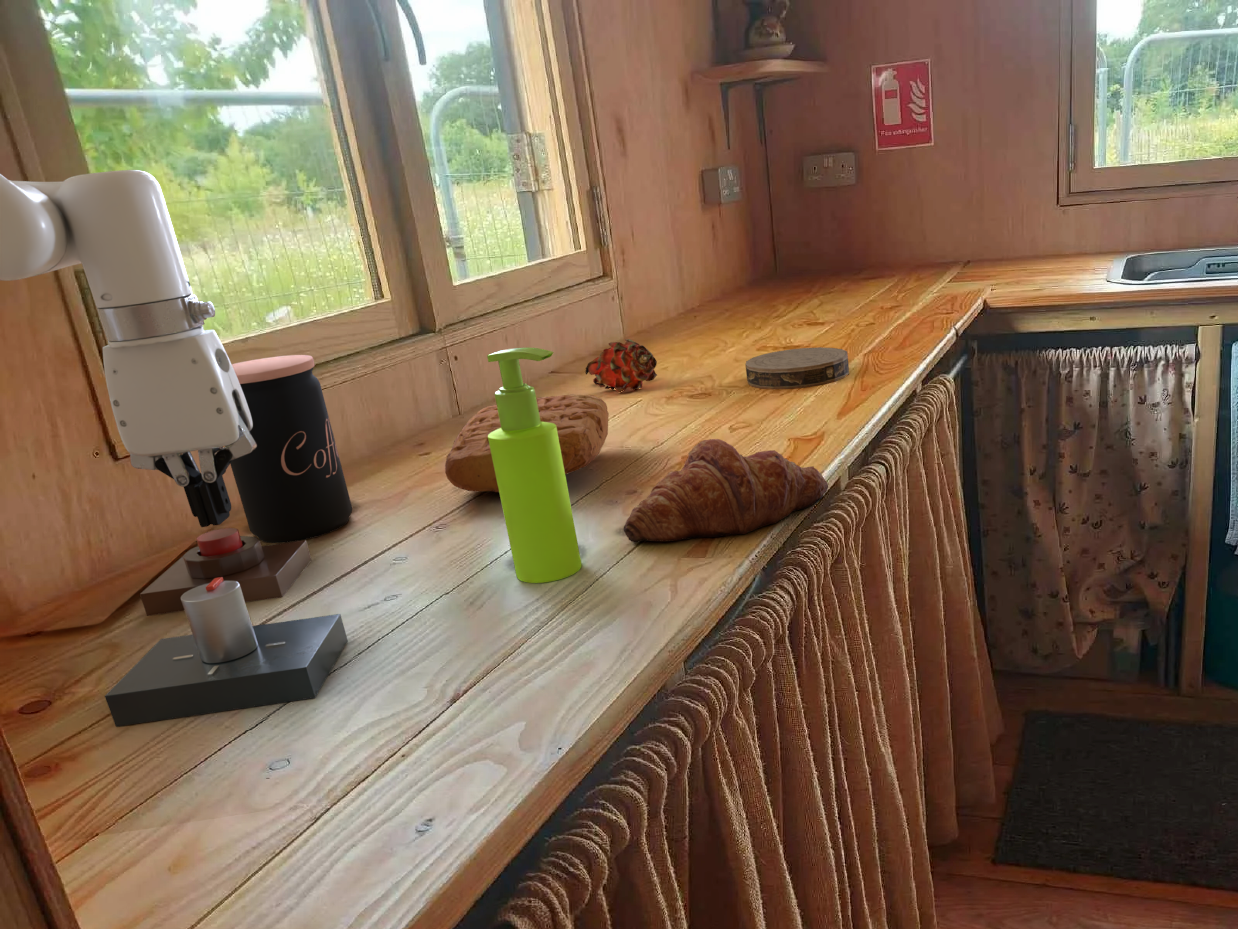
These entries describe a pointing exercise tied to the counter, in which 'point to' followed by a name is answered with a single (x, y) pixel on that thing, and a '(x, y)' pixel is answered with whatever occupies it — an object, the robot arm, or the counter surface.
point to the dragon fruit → (623, 366)
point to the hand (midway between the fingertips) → (215, 521)
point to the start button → (219, 541)
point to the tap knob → (219, 621)
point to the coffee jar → (289, 453)
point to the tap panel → (229, 673)
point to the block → (230, 573)
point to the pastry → (723, 495)
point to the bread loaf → (572, 415)
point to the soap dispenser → (531, 477)
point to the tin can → (797, 368)
